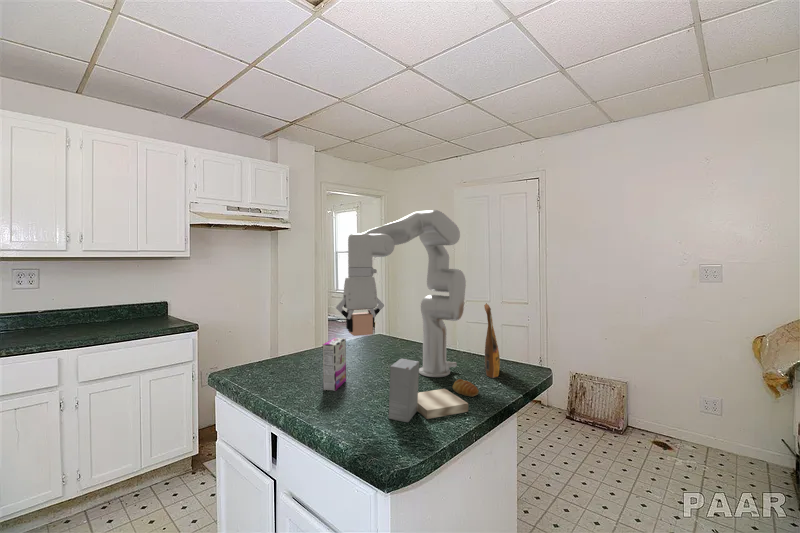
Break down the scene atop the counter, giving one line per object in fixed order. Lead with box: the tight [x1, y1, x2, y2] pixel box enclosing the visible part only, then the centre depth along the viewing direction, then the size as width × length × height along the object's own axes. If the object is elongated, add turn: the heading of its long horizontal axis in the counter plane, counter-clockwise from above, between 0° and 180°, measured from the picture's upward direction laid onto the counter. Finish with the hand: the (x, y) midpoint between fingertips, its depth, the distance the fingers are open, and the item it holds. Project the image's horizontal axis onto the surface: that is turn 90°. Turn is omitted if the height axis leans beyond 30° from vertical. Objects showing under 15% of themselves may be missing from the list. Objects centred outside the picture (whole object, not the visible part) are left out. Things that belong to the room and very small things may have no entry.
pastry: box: [452, 378, 479, 397], centre depth 129 cm, size 9×7×4 cm
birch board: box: [417, 388, 469, 420], centre depth 117 cm, size 14×14×2 cm
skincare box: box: [388, 358, 420, 423], centre depth 110 cm, size 8×7×16 cm
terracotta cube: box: [348, 311, 374, 337], centre depth 117 cm, size 6×6×6 cm
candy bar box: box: [322, 337, 347, 392], centre depth 135 cm, size 11×5×16 cm, turn 168°
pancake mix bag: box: [484, 302, 501, 379], centre depth 153 cm, size 7×19×28 cm, turn 164°
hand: (360, 329), depth 117 cm, fingers closed on terracotta cube, 6 cm apart
